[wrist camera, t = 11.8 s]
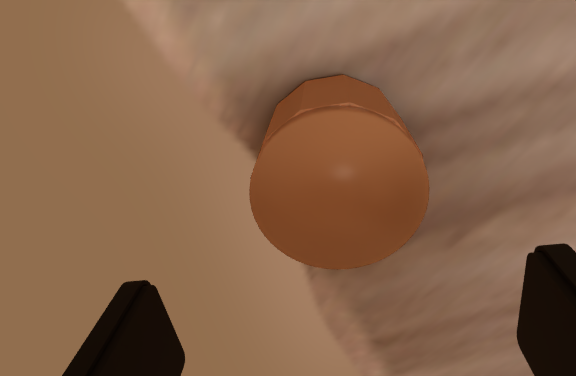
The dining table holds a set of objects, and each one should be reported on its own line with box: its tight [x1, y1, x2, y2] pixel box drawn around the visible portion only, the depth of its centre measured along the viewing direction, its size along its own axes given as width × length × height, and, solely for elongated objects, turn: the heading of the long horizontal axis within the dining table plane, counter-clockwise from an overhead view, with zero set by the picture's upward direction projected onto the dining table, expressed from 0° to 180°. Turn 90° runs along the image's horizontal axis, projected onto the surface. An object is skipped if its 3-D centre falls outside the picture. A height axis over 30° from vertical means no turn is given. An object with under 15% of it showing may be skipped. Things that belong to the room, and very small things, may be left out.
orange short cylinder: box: [250, 75, 429, 269], centre depth 18 cm, size 7×7×6 cm
